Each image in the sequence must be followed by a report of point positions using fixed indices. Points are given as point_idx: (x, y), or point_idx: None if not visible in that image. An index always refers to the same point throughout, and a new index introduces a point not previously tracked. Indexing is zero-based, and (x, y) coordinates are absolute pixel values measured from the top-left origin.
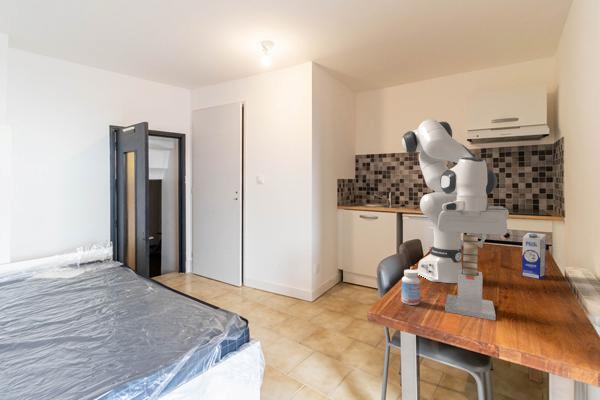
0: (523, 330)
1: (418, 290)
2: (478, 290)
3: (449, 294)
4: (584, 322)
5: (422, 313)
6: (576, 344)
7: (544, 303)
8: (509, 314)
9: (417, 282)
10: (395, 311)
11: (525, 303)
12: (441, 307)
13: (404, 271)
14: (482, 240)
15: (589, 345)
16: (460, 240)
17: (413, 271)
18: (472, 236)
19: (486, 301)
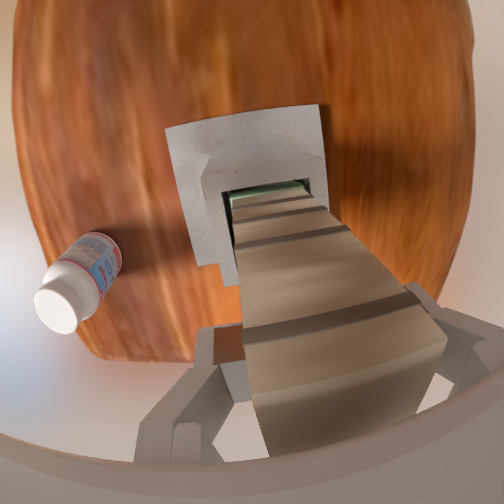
0: (376, 255)
1: (108, 283)
2: None
3: (171, 127)
4: (475, 127)
5: (159, 307)
6: (439, 259)
7: (423, 21)
8: (358, 162)
9: (97, 304)
10: (112, 330)
11: (389, 38)
12: (179, 233)
13: (45, 323)
14: (437, 367)
15: (453, 249)
16: (226, 407)
17: (60, 310)
18: (365, 433)
19: (301, 122)
